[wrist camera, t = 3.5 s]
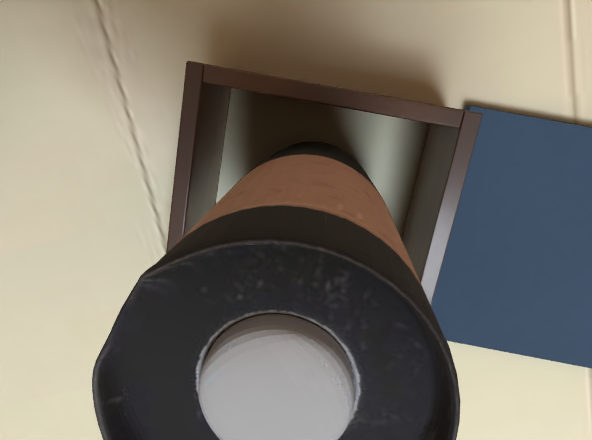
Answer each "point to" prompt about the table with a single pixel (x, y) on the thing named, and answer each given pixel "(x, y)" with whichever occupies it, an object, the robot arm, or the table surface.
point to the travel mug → (281, 321)
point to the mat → (522, 242)
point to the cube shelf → (443, 120)
